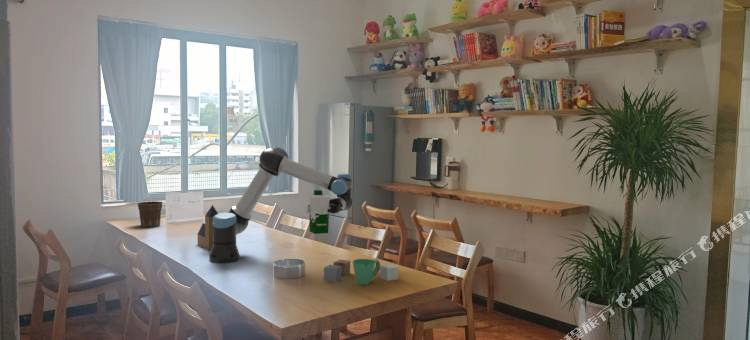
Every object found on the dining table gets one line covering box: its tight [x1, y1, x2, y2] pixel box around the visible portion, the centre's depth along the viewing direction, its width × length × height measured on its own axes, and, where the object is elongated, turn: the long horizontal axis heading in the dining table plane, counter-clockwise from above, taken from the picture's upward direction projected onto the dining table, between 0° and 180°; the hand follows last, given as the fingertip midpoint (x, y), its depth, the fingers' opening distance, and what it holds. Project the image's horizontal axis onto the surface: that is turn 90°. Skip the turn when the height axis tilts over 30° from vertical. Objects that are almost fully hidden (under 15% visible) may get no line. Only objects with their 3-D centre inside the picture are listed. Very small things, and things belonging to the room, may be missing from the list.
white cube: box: [379, 263, 399, 282], centre depth 249 cm, size 6×6×6 cm
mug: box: [352, 258, 381, 286], centre depth 241 cm, size 15×10×10 cm
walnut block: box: [332, 259, 351, 277], centre depth 255 cm, size 6×6×6 cm
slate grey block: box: [323, 264, 343, 283], centre depth 245 cm, size 6×6×6 cm
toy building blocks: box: [197, 204, 219, 252], centre depth 308 cm, size 12×19×25 cm
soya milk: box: [308, 189, 331, 235], centre depth 258 cm, size 9×9×20 cm
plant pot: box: [137, 200, 164, 228], centre depth 369 cm, size 16×16×16 cm
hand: (315, 210), depth 253 cm, fingers closed on soya milk, 8 cm apart
